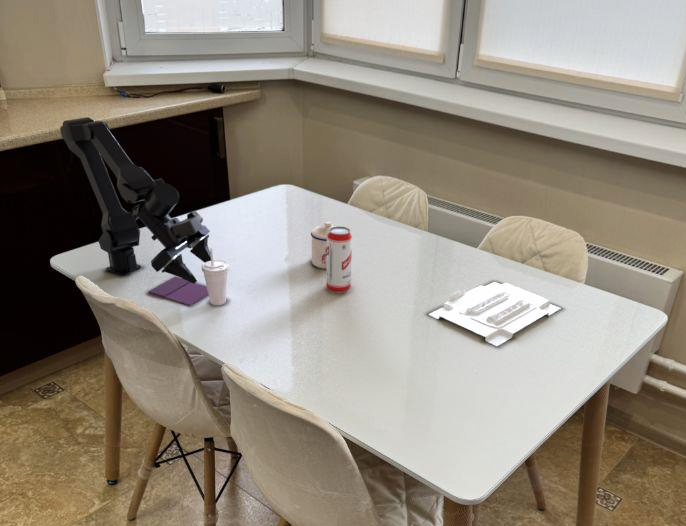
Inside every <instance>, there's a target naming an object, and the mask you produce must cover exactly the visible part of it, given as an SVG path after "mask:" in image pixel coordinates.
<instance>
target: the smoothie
mask: <svg viewBox="0 0 686 526" xmlns="http://www.w3.org/2000/svg"><path fill="white" fill-rule="evenodd" d="M209 250H210V254H211V261H208V262H205V263H204V262H203V263H202V264H201V272H202V273H203V276H204V281H205V286H206V287H207V290H208V294H209V295H208V298H209V303H210V304H211V305H213V306H222V305H225V304H226V302H227V287H228V286H227V284H228V272H229V270H230V268H229V262H226V261H224V260H219V259H214V251H213V250H214V249H213V247H210V248H209Z"/></svg>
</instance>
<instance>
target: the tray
mask: <svg viewBox="0 0 686 526" xmlns="http://www.w3.org/2000/svg"><path fill="white" fill-rule="evenodd" d="M561 309H562V308H561V307H559V306H556V305H555V304H552V303H551V300H550V299H548V298H545V297H543V296H541V295H537V294H535V293H533V292H530V291H528V290H526V289H523V288H521V287H518V286H515V285H513V284H510V283H507V282H504V283H502V284H501V283H499V282H497V281H493V282H491V283H489V284H487V285H482V284H481V285H478V286H477V287H475V288H473V289H470V290H469V291H467V289H459V290H455V291H453V292H452V293H451V296H449V300H448V301H446V302H444V303H443V306H442V307H440V308H439V309H436V310H434V311H432V312H430V313H428V315H429V316H430V317H433V318H435V319H437V320H439V319H441V318H443V319H445V320H447V321H449V322H451V323H454V324H456V325H458V326H460V327H462V328H464V329H467V330H469V331H471V332H473V333H475V334H477V335H480V336H482V337H485V339H484V340H485V342H486V343H488V344H491V345H493V346H496V347H498V346H500V345H502V344H504V343H505V342H508V340H510V339H512V338H513V335H514V334H515V333H517V332H519V331H520V330H522V329H524V328H525V327H527V326H528V325H529V326H530V325H531V324H532V323H534V322H536V321H537V320H539V319H540V318H542V317H544V316H551V315H553V314H555V313H556V312H557V311H560V310H561Z"/></svg>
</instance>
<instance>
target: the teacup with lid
mask: <svg viewBox="0 0 686 526" xmlns="http://www.w3.org/2000/svg"><path fill="white" fill-rule="evenodd" d="M332 227H336V226H335V225H333V224H332V222H331V221H325V222H324V223H323V224H322V225H318V226H316V227H314V228H312V230H311V232H310V236H311V263H312V265H313V266H315V267H317V268H320V269H325V270H327V235H328V234H329V232H330V231H329V230H330V228H332Z"/></svg>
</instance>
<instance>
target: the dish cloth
mask: <svg viewBox="0 0 686 526" xmlns="http://www.w3.org/2000/svg"><path fill="white" fill-rule="evenodd" d="M148 293H149V294H151V295H154V296H157V297H162V298H164V299H168V300H171V301H174V302H178V303H179V304H183V305H186V306H193V305H194V304H195V303H197V302H199V301H200V300H203V299H204V298H205V297H207V296H209V294H208V290H207V285H203V284H199V283H197V282H196V283H195V284H194V283H191V282H189V281H187V280H184V279H182V278H180V277H177V276H174V277H172V278H170V279H168V280H166V281H164V282H163V283H160V284H159V285H157V286H155V287H153V288H151V289H149V290H148Z"/></svg>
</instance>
